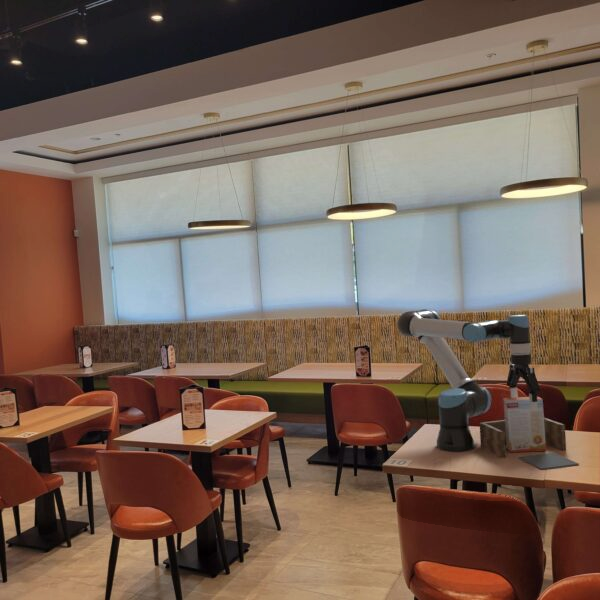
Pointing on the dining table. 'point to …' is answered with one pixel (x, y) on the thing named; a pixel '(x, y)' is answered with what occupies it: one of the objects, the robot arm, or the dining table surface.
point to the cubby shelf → (496, 436)
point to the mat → (548, 461)
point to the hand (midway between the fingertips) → (524, 406)
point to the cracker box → (524, 425)
